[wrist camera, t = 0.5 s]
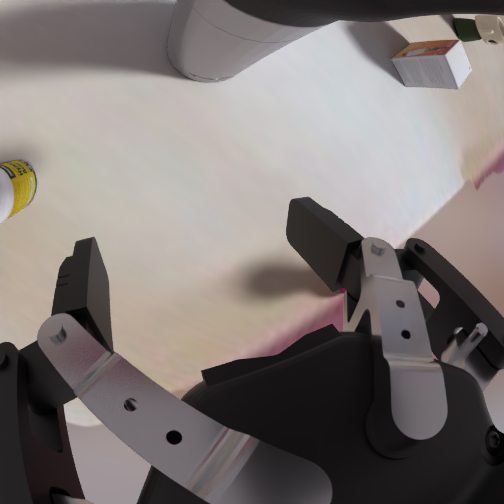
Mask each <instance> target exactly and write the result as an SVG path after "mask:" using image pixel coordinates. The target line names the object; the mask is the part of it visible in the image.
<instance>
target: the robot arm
mask: <svg viewBox="0 0 504 504" xmlns="http://www.w3.org/2000/svg"><path fill="white" fill-rule="evenodd" d="M442 14H489V15H504V0H177V2H176V6H175V10H174V14H173V18H172V22H171V27H170V31H169V36H168V42H167V53H168V56H169V59H170V61H171V63H172V64H173V66H174V67H175V68H176V69H177V70H178V71H179V72H180V73H181V74H183V75H184V76H186V77H188V78H190V79H193V80H196V81H201V82H219V81H224V80H226V79H229V78H231V77H233V76H235V75H236V74H238V73H239V72H241V71H243V70H244V69H246V68H248V67H249V66H251V65H253V64H254V63H256V62H257V61H259V60H261V59H262V58H264V57H266V56H268V55H269V54H271V53H273V52H275V51H276V50H278V49H280V48H282V47H284V46H286V45H287V44H289V43H291V42H293V41H295V40H297V39H299V38H301V37H303V36H305V35H307V34H309V33H311V32H313V31H315V30H317V29H319V28H322V27H324V26H326V25H328V24H330V23H333V22H335V21H338V20H346V21H358V22H381V21H390V20H397V19H403V18H410V17H418V16H428V15H442ZM286 236H287V239H288V242H289V243H290V245H291V246H292V247H293V248H294V249H295V250H296V251H297V252H298V253H299V254H300V256H301V257H302V258H303V259H304V260H305V261H306V262H307V263H308V264H309V266H310V267H311V268H312V269H313V270H314V271H315V272H316V273H317V274H318V276H319V277H320V278H321V279H322V280H323V281H324V282H325V283H326V285H327V286H328V287H329V288H330V289H331V290H332V291H333V292H334V291H336V290H339V289H342V288H345V293H344V297H343V298H344V328H343V332H338V330H337V329H336V328H335V327H334V325H333V324H330V325H328V326H326V327H323V328H321V329H319V330H316V331H314V332H311V333H309V334H306V335H304V336H303V337H302V338H300V339H299V340H298V341H296V342H295V343H293V344H292V345H291V346H289V347H288V348H287V349H285V350H284V351H282V352H281V353H279V354H277V355H274V356H267V357H258V358H249V359H239V360H235V361H232V362H228V363H225V364H222V365H219V366H215V367H212V368H209V369H205V370H202V371H201V373H202V377H203V381H202V382H200V383H199V384H197V385H196V386H194V387H193V388H192V389H190V390H189V391H188V392H187V393H186V394H185V395H184V396H183V397H182V399H181V400H180V399H179V398H177V397H176V396H174V395H173V394H171V393H170V392H168V391H167V390H165V389H164V388H163V387H161V386H160V385H158V384H157V383H156V382H154V381H153V380H151V379H150V378H149V377H147V376H146V375H145V374H143V373H142V372H141V371H139V370H138V369H137V368H136V367H134V366H133V365H132V364H131V363H129V362H128V361H127V360H126V359H124V358H123V357H122V356H121V355H119V354H118V353H116V352H114V350H113V341H112V330H111V317H110V298H109V280H108V275H107V272H106V268H105V266H104V263H103V260H102V257H101V254H100V251H99V248H98V245H97V242H96V239H95V238H94V237H91V238H87V239H83V240H79V241H76V243H75V247H74V252H73V256H70V257H66V259H65V260H64V262H63V263H62V265H61V266H60V268H59V273H58V279H57V283H56V288H55V294H54V300H53V307H52V314H51V317H49V318H48V319H47V320H46V321H45V322H44V323H43V324H42V325H41V327H40V329H39V331H38V335H37V341H35V342H33V343H32V344H30V345H28V346H26V347H24V348H23V349H21V350H18V349H17V348H16V347H15V345H14V344H12V343H10V342H3V343H1V344H0V504H94V503H92V502H90V501H88V500H85V497H84V494H83V491H82V488H81V485H80V481H79V478H78V474H77V471H76V467H75V463H74V459H73V455H72V451H71V447H70V442H69V437H68V432H67V426H66V420H65V414H64V406H63V404H65V403H67V402H69V401H71V400H73V399H75V398H77V397H78V398H79V399H80V400H81V401H82V402H83V404H84V405H85V406H86V407H87V408H88V409H89V410H90V411H91V412H92V413H93V414H94V415H95V416H96V417H97V418H98V419H99V420H100V421H101V422H102V423H103V424H104V425H105V426H106V427H107V428H108V429H109V430H110V431H112V432H113V433H114V434H115V435H116V436H117V437H118V438H119V439H120V440H122V441H123V442H124V443H125V444H126V445H128V447H130V448H131V449H132V450H133V451H135V452H136V453H137V454H138V455H139V456H141V457H142V458H143V459H145V460H146V461H147V462H149V463H150V464H151V468H150V470H149V473H148V476H147V478H146V481H145V483H144V486H143V489H142V491H141V494H140V496H139V499H138V502H137V504H504V434H503V433H501V432H500V431H499V430H497V428H496V427H495V426H494V424H493V422H492V420H491V417H490V415H489V412H488V409H487V406H486V403H485V400H484V396H483V391H484V389H485V388H486V387H487V386H488V384H489V383H490V382H491V381H492V380H493V379H494V378H495V377H496V376H497V375H498V374H499V373H500V372H501V371H502V370H503V369H504V318H503V317H502V315H501V314H500V313H499V312H498V311H497V310H496V309H495V308H494V306H493V305H491V303H490V302H489V301H488V300H487V299H486V298H485V297H484V296H483V295H482V294H481V293H480V292H479V291H478V290H477V289H476V288H475V287H474V286H473V285H472V284H471V283H470V282H469V281H468V280H467V279H466V278H465V277H464V276H463V275H462V274H461V273H460V272H459V271H458V270H457V269H456V268H455V267H454V266H453V265H451V264H450V263H449V262H448V261H447V260H446V259H445V258H444V257H443V256H442V255H440V254H439V253H438V252H437V251H436V250H435V249H434V248H432V247H431V246H430V245H429V244H427V243H426V242H424V241H422V240H420V239H416V238H410V239H408V240H407V242H406V244H405V247H404V249H394V248H393V247H392V246H391V245H390V244H389V243H387V242H386V241H384V240H382V239H379V238H374V237H368V238H364V237H362V236H361V235H360V234H359V233H358V232H356V231H355V230H354V229H353V228H352V227H350V226H349V225H348V224H347V223H344V221H343V220H342V219H340V218H338V216H337V215H335V214H334V213H333V212H331V211H330V210H328V209H325V208H323V207H322V206H320V205H319V204H318V203H316V202H315V201H314V200H312V199H311V198H310V197H303V198H295V199H292V200H291V201H290V204H289V211H288V219H287V227H286ZM423 278H425V279H426V280H427V281H428V282H429V283H430V284H431V285H433V287H434V288H435V289H436V290H437V291H438V293H439V295H440V301H439V303H438V305H437V306H436V308H435V309H434V308H433V307H432V305H431V304H430V303H429V302H428V301H427V300H426V299H425V298H424V297H423V296H422V295H421V294H420V293H419V292H418V288H419V286H420V284H421V282H422V280H423ZM431 351H432V352H433V354H434V355H435V356H436V357H437V359H438V360H436V359H433V357H432V352H431Z"/></svg>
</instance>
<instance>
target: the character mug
mask: <svg viewBox="0 0 504 504" xmlns="http://www.w3.org/2000/svg"><path fill="white" fill-rule="evenodd" d="M454 23H455V26H456V31H457V32H458V35H459V37H460V39H461V40H462V41H463V42H468V41H475V40H480V39H483V41H484V42H485V43H486V44H494V45H504V25H503V22H502V21H501V19H500V18H499V16H496V15H477V16H475V20H473V19H464V18H454Z"/></svg>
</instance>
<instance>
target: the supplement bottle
mask: <svg viewBox="0 0 504 504" xmlns="http://www.w3.org/2000/svg"><path fill="white" fill-rule="evenodd" d="M37 190H38V176H37V172H36V170H35V168H34V167H33V165H32V164H31V163H29V162H28V161H25V160H15V161H12V162H8V163H4V164H0V224H1V223H3V222H4V221H6V220H7V219H8V218H10V217H11V216H13V215H14V214H16V213H17V212H19V211H20V210H22V209H23V208H25V207H26V206H27V205H29V204H30V203H31V202H32V201H33V199H34V198H35V196H36V193H37Z"/></svg>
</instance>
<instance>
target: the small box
mask: <svg viewBox="0 0 504 504" xmlns="http://www.w3.org/2000/svg"><path fill="white" fill-rule="evenodd" d="M391 60H392V62H393V64H394V65H395V67H396V69H397V71H398V73H399V75H400V77H401V79H402V81H403V83H404V84H405V86H406V87H427V88H445V89H457V90H458V89H459V88H460V86H461V85H462V83H463V82H464V80H465V79H466V78H467V76H468V75H469V74H470V73H471V72H472V69H471V66H470V63H469V61H468V58H467V56H466V53H465V51H464V48H463V46H462V44H461V41H460V40H440V41H425V42H415V43H410V44H409V45H408V46H407V47H406V48H404V49H403V50H402V51H400V52H399V53H397V54H396V55H395V56H394V57H392V58H391Z"/></svg>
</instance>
